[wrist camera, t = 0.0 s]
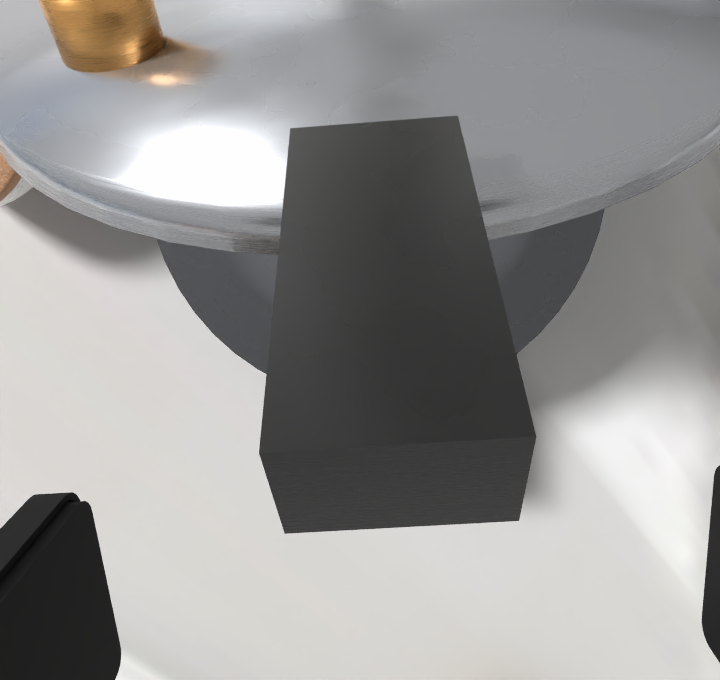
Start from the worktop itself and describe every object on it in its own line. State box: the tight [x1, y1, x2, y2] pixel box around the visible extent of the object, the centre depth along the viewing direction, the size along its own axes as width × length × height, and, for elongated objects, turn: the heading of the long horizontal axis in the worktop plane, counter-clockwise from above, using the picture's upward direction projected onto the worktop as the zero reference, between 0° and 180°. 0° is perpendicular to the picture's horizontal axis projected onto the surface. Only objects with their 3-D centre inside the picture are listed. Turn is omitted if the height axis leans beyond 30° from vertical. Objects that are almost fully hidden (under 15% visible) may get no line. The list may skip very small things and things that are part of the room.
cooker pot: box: [157, 209, 604, 374], centre depth 35 cm, size 26×20×10 cm
